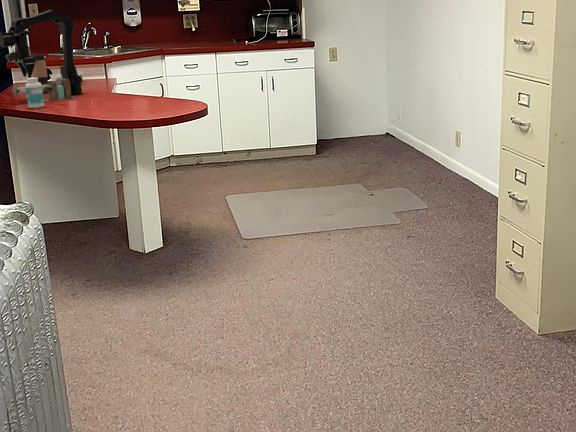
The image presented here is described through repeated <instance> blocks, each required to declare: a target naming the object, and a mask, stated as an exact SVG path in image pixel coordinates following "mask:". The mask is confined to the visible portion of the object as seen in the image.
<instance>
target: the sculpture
mask: <svg viewBox="0 0 576 432" xmlns="http://www.w3.org/2000/svg"><path fill="white" fill-rule="evenodd" d="M76 70H77V74H78V75H79V76H80V77H81V78H82V79H83V77H84V74H85V71H81V70H79V69H78V68H76ZM49 78H50V81H53V82H57V85H61V81H60V80H65V79H63V78H62V75H61V74H60V72H59V73H56V74H50V73H49Z"/></svg>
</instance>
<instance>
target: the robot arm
mask: <svg viewBox="0 0 576 432" xmlns="http://www.w3.org/2000/svg"><path fill="white" fill-rule="evenodd" d="M50 19H51V20H52V21H53V22H54V23H56V24H57V25H58V29H59V31H60V34H61V36H62V37H61V38H62V39H61V41H62V53H63V55H62V56H63V64H62V65H61V66H59V70H60V72H59V73H60V74H61V75H62V78H63V79H64V80H66V81H68V80H69V81H70V88H71V96H78V95H79V96H81V95H84V93H83V91H82V82H83V77H82V78H81V77H80V76H79V75H78V74H77V70H76V69H77V68H76V65H75V63H74V52H73V37H72V35H73V33H74V32H73V31H74V30H75V29H74V28H75V20H74V19H73V18H72V17H71V16H68V15H65V14H63V13H60V12H59V11H57V10H55V9H48V10H47V11H43V12H41V13H38V14H35V15H31V16H29V17H21V18H15V19H13V20H11V22H10V26H9V29H8V30H7V32H0V47H1V48H9V47H14V46H16V47H15V48H14V51H11V52H9V53H8V54H5V59H6V60H7V61H8V63H12V62H13V63H14V64H15V65H17V66H18V68H19V69H20V71H21V73H22V76H23V77H27V78H32V77H33V75H32V72H33V69H34V66H35V63H36V59H35V58H34V57H31V56H32V55H31V53H30V50H31V48H30V46H29V41H28V36H31V35H32V33H31V32H29V31H28V29H29V28H30V27H31V26H34V25H36V24H40V23H42V22H45V21H48V20H50Z"/></svg>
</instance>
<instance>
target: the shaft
mask: <svg viewBox="0 0 576 432" xmlns="http://www.w3.org/2000/svg"><path fill="white" fill-rule="evenodd" d="M42 90H43V91H47V90H52V89H51V84H45V85H42ZM12 93H13V96H18V94H26V89H25V86H16V85H13V86H12Z"/></svg>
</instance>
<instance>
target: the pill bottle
mask: <svg viewBox="0 0 576 432" xmlns="http://www.w3.org/2000/svg"><path fill="white" fill-rule="evenodd" d="M26 80H27V83H25V85H24V87H25V89H26V93H25V94H26V95H25V96H26V101H27V107H28V108H30V109H38V108H43V107H45V102H44V99H45V98H44V94H43V90H42V84H41V83H39V82H38V78H33V77H31V78H29V77H27V79H26Z"/></svg>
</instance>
